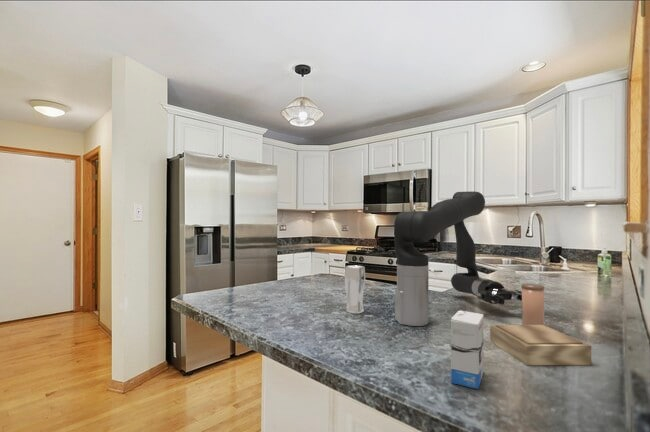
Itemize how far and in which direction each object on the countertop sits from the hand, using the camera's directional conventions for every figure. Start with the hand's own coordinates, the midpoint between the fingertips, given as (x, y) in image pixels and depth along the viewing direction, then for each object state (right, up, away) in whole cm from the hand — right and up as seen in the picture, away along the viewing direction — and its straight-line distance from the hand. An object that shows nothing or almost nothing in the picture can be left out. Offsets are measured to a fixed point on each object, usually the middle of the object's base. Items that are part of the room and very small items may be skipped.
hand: (517, 301), depth 96 cm
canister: (0, -6, -7) cm, 9 cm away
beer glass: (-47, -7, +12) cm, 50 cm away
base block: (-8, -6, -21) cm, 24 cm away
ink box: (-30, -6, -34) cm, 46 cm away
